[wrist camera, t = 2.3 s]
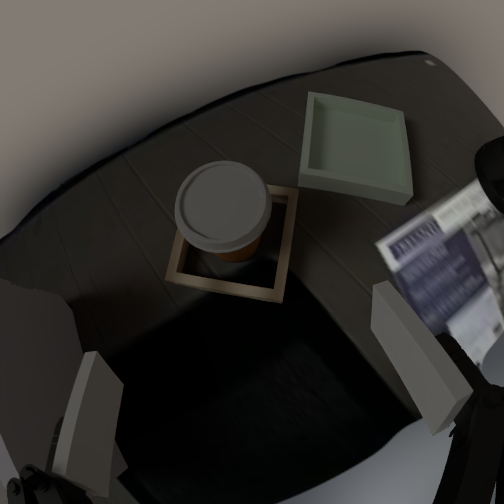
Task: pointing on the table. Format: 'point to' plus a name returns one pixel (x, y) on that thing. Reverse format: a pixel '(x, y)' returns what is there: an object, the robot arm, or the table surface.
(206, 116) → the table surface
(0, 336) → the game console
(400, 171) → the tray
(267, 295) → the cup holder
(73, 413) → the robot arm
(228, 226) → the disposable coffee cup
